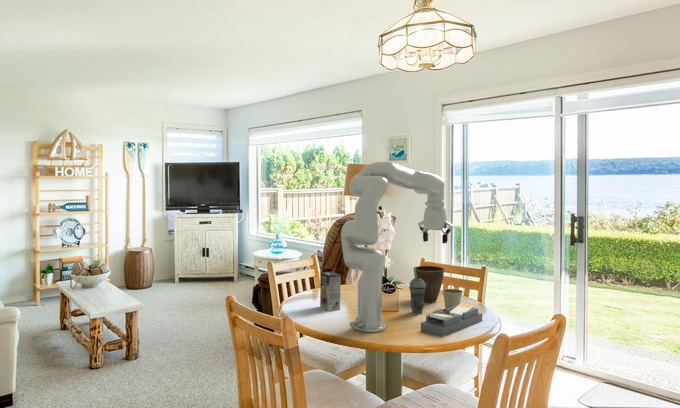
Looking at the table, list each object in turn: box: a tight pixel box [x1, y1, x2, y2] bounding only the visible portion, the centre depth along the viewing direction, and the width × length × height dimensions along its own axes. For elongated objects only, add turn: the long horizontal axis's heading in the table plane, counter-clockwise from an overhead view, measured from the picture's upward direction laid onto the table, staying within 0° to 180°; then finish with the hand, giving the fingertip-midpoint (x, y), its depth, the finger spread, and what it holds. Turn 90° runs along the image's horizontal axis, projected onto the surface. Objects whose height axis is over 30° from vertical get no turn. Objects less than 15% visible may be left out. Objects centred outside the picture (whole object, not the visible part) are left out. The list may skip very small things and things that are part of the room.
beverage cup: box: [408, 267, 426, 315], centre depth 203 cm, size 7×7×20 cm
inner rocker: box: [429, 313, 453, 320], centre depth 179 cm, size 10×6×1 cm, turn 135°
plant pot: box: [412, 265, 445, 303], centre depth 225 cm, size 15×15×16 cm
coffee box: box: [319, 271, 342, 312], centre depth 209 cm, size 9×6×16 cm
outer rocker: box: [449, 302, 476, 318], centre depth 189 cm, size 10×6×1 cm, turn 135°
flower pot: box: [441, 288, 464, 309], centre depth 208 cm, size 9×9×9 cm
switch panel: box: [420, 305, 483, 337], centre depth 184 cm, size 30×10×5 cm, turn 135°
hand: (435, 242), depth 209 cm, fingers open, 9 cm apart
